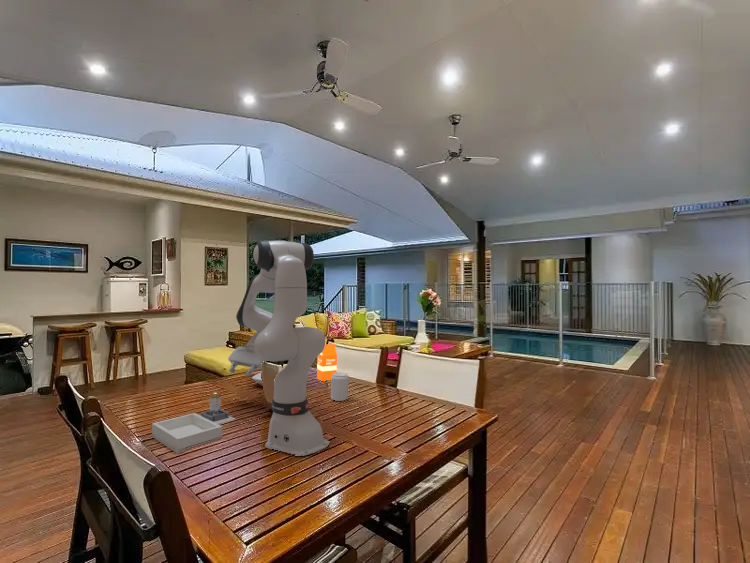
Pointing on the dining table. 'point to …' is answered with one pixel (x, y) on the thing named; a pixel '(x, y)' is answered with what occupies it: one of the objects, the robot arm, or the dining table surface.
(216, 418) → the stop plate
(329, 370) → the orange juice
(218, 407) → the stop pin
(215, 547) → the dining table surface
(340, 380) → the beverage can
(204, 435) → the tray
